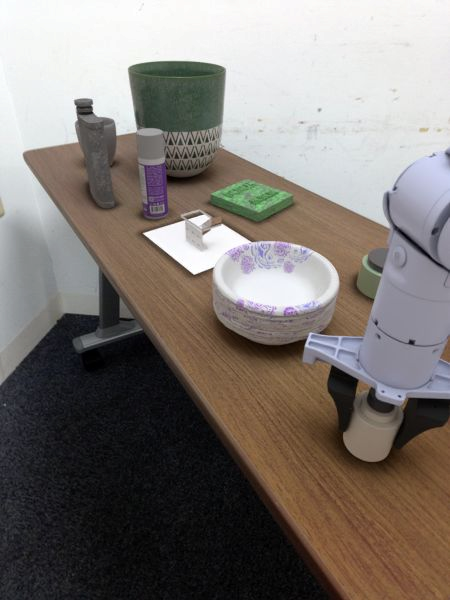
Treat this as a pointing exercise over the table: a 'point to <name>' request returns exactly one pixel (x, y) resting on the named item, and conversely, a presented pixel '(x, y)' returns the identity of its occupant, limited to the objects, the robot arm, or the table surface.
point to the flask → (95, 153)
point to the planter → (181, 110)
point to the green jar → (371, 271)
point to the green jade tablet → (251, 199)
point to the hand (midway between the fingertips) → (369, 431)
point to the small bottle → (372, 427)
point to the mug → (109, 136)
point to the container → (152, 172)
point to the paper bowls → (274, 291)
